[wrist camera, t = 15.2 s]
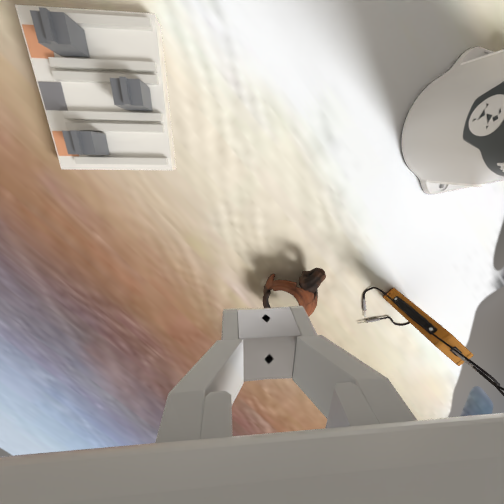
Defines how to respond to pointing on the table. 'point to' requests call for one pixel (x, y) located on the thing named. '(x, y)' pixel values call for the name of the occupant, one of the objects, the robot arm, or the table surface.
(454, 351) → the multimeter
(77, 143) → the tab
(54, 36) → the tab
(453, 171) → the robot arm
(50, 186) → the table surface
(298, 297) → the brown curved ring piece
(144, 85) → the tab middle
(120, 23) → the switch board
